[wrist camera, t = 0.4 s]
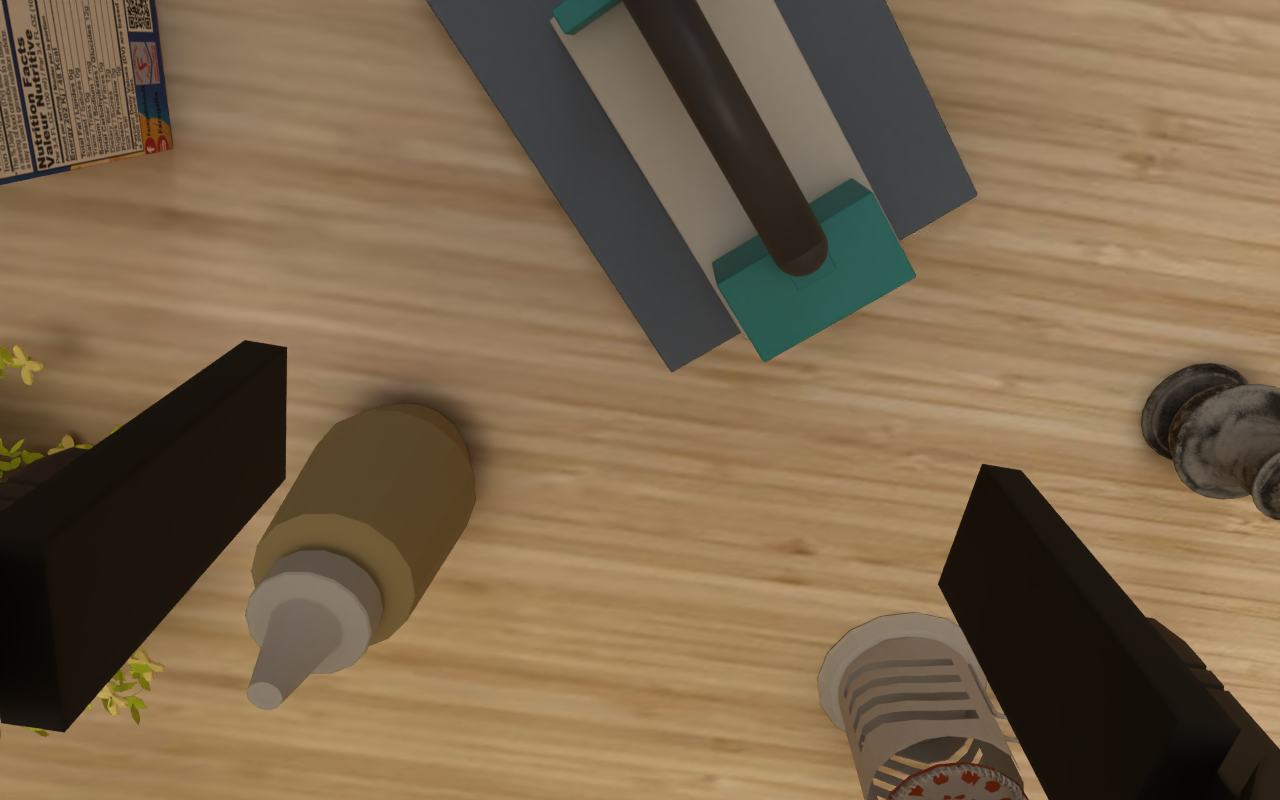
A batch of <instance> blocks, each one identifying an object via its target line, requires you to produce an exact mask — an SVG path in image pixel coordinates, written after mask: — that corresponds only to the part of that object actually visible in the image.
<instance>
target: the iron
mask: <svg viewBox="0 0 1280 800" xmlns="http://www.w3.org/2000/svg"><path fill="white" fill-rule="evenodd" d="M551 13H552V15H553V16H554V17H553V18H552V19H551V20H550V23H551V25H552V26H553V28H554V30H555V31H556V33H557V35H558V36H559V38H560V39H561V41H562V43H563V44H564V46H565V47H566V49H567V51H568V52H569V54H570V56H571V57H572V59H573V60H574V62H575V64H576V65H577V67H578V69H579V70H580V72H581V73H582V75H583V77H584V78H585V80H586V82H587V83H588V85H589V86H590V88H591V90H592V91H593V93H594V95H595V96H596V98H597V99H598V101H599V103H600V104H601V106H602V108H603V109H604V111H605V112H606V114H607V116H608V117H609V119H610V121H611V122H612V124H613V125H614V127H615V129H616V130H617V132H618V134H619V135H620V137H621V138H622V140H623V142H624V143H625V145H626V147H627V148H628V150H629V151H630V153H631V155H632V156H633V158H634V160H635V161H636V163H637V164H638V166H639V168H640V169H641V171H642V173H643V174H644V176H645V177H646V179H647V181H648V182H649V184H650V186H651V187H652V189H653V190H654V192H655V194H656V195H657V197H658V199H659V200H660V202H661V203H662V205H663V207H664V208H665V210H666V212H667V213H668V215H669V216H670V218H671V220H672V221H673V223H674V225H675V226H676V228H677V229H678V231H679V233H680V234H681V236H682V238H683V239H684V241H685V242H686V244H687V246H688V247H689V249H690V251H691V252H692V254H693V255H694V257H695V259H696V260H697V262H698V264H699V265H700V267H701V268H702V270H703V272H704V273H705V275H706V277H707V278H708V280H709V281H710V283H711V285H712V286H713V288H714V290H715V291H716V293H717V294H718V296H719V298H720V299H721V301H722V303H723V304H724V306H725V307H726V309H727V311H728V312H729V314H730V316H731V317H732V319H733V320H734V322H735V324H736V325H737V327H738V329H739V330H740V332H741V333H742V335H743V337H744V338H745V339H748V338H749V339H750V341H751V342H752V344H753V346H754V347H755V349H756V351H757V352H758V354H759V356H760V357H761V359H762V360H763V362H767V361H768V360H770V359H772V358H774V357H775V356H777V355H779V354H781V353H782V352H784V351H786V350H788V349H790V348H791V347H793V346H795V345H797V344H798V343H800V342H802V341H804V340H805V339H807V338H809V337H811V336H813V335H814V334H816V333H818V332H820V331H821V330H823V329H825V328H827V327H828V326H830V325H832V324H834V323H836V322H837V321H839V320H841V319H843V318H844V317H846V316H848V315H850V314H851V313H853V312H855V311H857V310H859V309H860V308H862V307H864V306H866V305H867V304H869V303H871V302H873V301H874V300H876V299H878V298H880V297H882V296H883V295H885V294H887V293H889V292H890V291H892V290H894V289H896V288H897V287H899V286H901V285H903V284H905V283H906V282H908V281H910V280H912V279H913V278H915V277H916V274H915V272H914V270H913V268H912V266H911V264H910V263H909V261H908V259H907V257H906V255H905V253H904V251H903V247H902V245H901V243H900V241H899V240H898V238H897V236H896V234H895V232H894V230H893V228H892V226H891V224H890V222H889V220H888V218H887V217H886V215H885V213H884V211H883V209H882V207H881V205H880V203H879V201H878V199H877V197H876V195H875V193H874V192H873V190H872V188H871V186H870V184H869V182H868V180H867V178H866V176H865V174H864V172H863V170H862V169H861V167H860V165H859V163H858V161H857V159H856V157H855V155H854V153H853V151H852V149H851V147H850V146H849V144H848V142H847V140H846V138H845V136H844V134H843V132H842V130H841V128H840V126H839V124H838V123H837V121H836V119H835V117H834V115H833V113H832V111H831V109H830V107H829V105H828V103H827V101H826V100H825V98H824V96H823V94H822V92H821V90H820V88H819V86H818V84H817V82H816V80H815V78H814V76H813V75H812V73H811V71H810V69H809V67H808V65H807V63H806V61H805V59H804V57H803V55H802V53H801V52H800V50H799V48H798V46H797V44H796V42H795V40H794V38H793V36H792V34H791V32H790V30H789V29H788V27H787V25H786V23H785V21H784V19H783V17H782V15H781V13H780V11H779V9H778V7H777V6H776V4H775V2H774V0H564V1H563V2H561V3H560V4H558V5H557V6H556V7H554V8H553V9H552V10H551Z"/></svg>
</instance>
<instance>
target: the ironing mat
mask: <svg viewBox="0 0 1280 800" xmlns="http://www.w3.org/2000/svg"><path fill="white" fill-rule="evenodd" d="M426 1H427V2H428V4H429V6H430V7H431V9H432V10H433V12H434V13H435V15H436V16H437V18H438V19H439V21H440V22H441V24H442V25H443V27H444V28H445V30H446V31H447V33H448V34H449V36H450V37H451V39H452V40H453V42H454V43H455V45H456V46H457V48H458V49H459V51H460V53H461V54H462V56H463V57H464V59H465V60H466V62H467V63H468V65H469V66H470V68H471V69H472V71H473V72H474V74H475V75H476V77H477V78H478V80H479V81H480V83H481V84H482V86H483V87H484V89H485V90H486V92H487V93H488V95H489V97H490V98H491V100H492V101H493V103H494V104H495V106H496V107H497V109H498V110H499V112H500V113H501V115H502V116H503V118H504V119H505V121H506V122H507V124H508V125H509V127H510V128H511V130H512V131H513V133H514V134H515V136H516V137H517V139H518V140H519V142H520V144H521V145H522V147H523V148H524V150H525V151H526V153H527V154H528V156H529V157H530V159H531V160H532V162H533V163H534V165H535V166H536V168H537V169H538V171H539V172H540V174H541V175H542V177H543V178H544V180H545V181H546V183H547V184H548V186H549V187H550V189H551V191H552V192H553V194H554V195H555V197H556V198H557V200H558V201H559V203H560V204H561V206H562V207H563V209H564V210H565V212H566V213H567V215H568V216H569V218H570V219H571V221H572V222H573V224H574V225H575V227H576V228H577V230H578V231H579V233H580V235H581V236H582V238H583V239H584V241H585V242H586V244H587V245H588V247H589V248H590V250H591V251H592V253H593V254H594V256H595V257H596V259H597V260H598V262H599V263H600V265H601V266H602V268H603V269H604V271H605V272H606V274H607V275H608V277H609V278H610V280H611V282H612V283H613V285H614V286H615V288H616V289H617V291H618V292H619V294H620V295H621V297H622V298H623V300H624V301H625V303H626V304H627V306H628V307H629V309H630V310H631V312H632V313H633V315H634V316H635V318H636V319H637V321H638V322H639V324H640V325H641V327H642V329H643V330H644V332H645V333H646V335H647V336H648V338H649V339H650V341H651V342H652V344H653V345H654V347H655V348H656V350H657V351H658V353H659V354H660V356H661V357H662V359H663V360H664V362H665V363H666V365H667V366H668V368H669V369H670V371H671V372H674V371H675V370H677V369H679V368H680V367H682V366H684V365H686V364H687V363H689V362H691V361H693V360H694V359H696V358H698V357H700V356H701V355H703V354H705V353H706V352H708V351H710V350H712V349H713V348H715V347H717V346H719V345H720V344H722V343H724V342H725V341H727V340H729V339H731V338H732V337H734V336H736V335H738V334H739V333H741V332H740V330H739V329H738V327H737V325H736V324H735V322H734V320H733V319H732V317H731V316H730V314H729V312H728V311H727V309H726V307H725V306H724V304H723V303H722V301H721V299H720V298H719V296H718V294H717V293H716V291H715V290H714V288H713V286H712V285H711V283H710V281H709V280H708V278H707V277H706V275H705V273H704V272H703V270H702V268H701V267H700V265H699V264H698V262H697V260H696V259H695V257H694V255H693V254H692V252H691V251H690V249H689V247H688V246H687V244H686V242H685V241H684V239H683V238H682V236H681V234H680V233H679V231H678V229H677V228H676V226H675V225H674V223H673V221H672V220H671V218H670V216H669V215H668V213H667V212H666V210H665V208H664V207H663V205H662V203H661V202H660V200H659V199H658V197H657V195H656V194H655V192H654V190H653V189H652V187H651V186H650V184H649V182H648V181H647V179H646V177H645V176H644V174H643V173H642V171H641V169H640V168H639V166H638V164H637V163H636V161H635V160H634V158H633V156H632V155H631V153H630V151H629V150H628V148H627V147H626V145H625V143H624V142H623V140H622V138H621V137H620V135H619V134H618V132H617V130H616V129H615V127H614V125H613V124H612V122H611V121H610V119H609V117H608V116H607V114H606V112H605V111H604V109H603V108H602V106H601V104H600V103H599V101H598V99H597V98H596V96H595V95H594V93H593V91H592V90H591V88H590V86H589V85H588V83H587V82H586V80H585V78H584V77H583V75H582V73H581V72H580V70H579V69H578V67H577V65H576V64H575V62H574V60H573V59H572V57H571V56H570V54H569V52H568V51H567V49H566V47H565V46H564V44H563V43H562V41H561V39H560V38H559V36H558V35H557V33H556V31H555V30H554V28H553V26H552V25H551V23H550V20H551V19H552V18H553V17H554V16H553V15H552V13H551V10H552V9H553V8H554V7H556V6H557V5H558V4H560V3H561V2H563V1H564V0H426ZM774 2H775V4H776V6H777V7H778V9H779V11H780V13H781V15H782V17H783V19H784V21H785V23H786V25H787V27H788V29H789V30H790V32H791V34H792V36H793V38H794V40H795V42H796V44H797V46H798V48H799V50H800V52H801V53H802V55H803V57H804V59H805V61H806V63H807V65H808V67H809V69H810V71H811V73H812V75H813V76H814V78H815V80H816V82H817V84H818V86H819V88H820V90H821V92H822V94H823V96H824V98H825V100H826V101H827V103H828V105H829V107H830V109H831V111H832V113H833V115H834V117H835V119H836V121H837V123H838V124H839V126H840V128H841V130H842V132H843V134H844V136H845V138H846V140H847V142H848V144H849V146H850V147H851V149H852V151H853V153H854V155H855V157H856V159H857V161H858V163H859V165H860V167H861V169H862V170H863V172H864V174H865V176H866V178H867V180H868V182H869V184H870V186H871V188H872V190H873V192H874V193H875V195H876V197H877V199H878V201H879V203H880V205H881V207H882V209H883V211H884V213H885V215H886V217H887V218H888V220H889V222H890V224H891V226H892V228H893V230H894V232H895V234H896V236H897V238H898V240H899V241H900V240H902V239H903V238H905V237H907V236H909V235H910V234H912V233H914V232H916V231H917V230H919V229H921V228H922V227H924V226H926V225H928V224H929V223H931V222H933V221H935V220H936V219H938V218H940V217H941V216H943V215H945V214H947V213H948V212H950V211H952V210H954V209H955V208H957V207H959V206H961V205H962V204H964V203H966V202H967V201H969V200H971V199H973V198H974V197H976V196H977V192H976V190H975V188H974V186H973V184H972V182H971V179H970V177H969V175H968V173H967V171H966V169H965V167H964V165H963V163H962V161H961V158H960V156H959V154H958V152H957V150H956V148H955V146H954V144H953V142H952V140H951V138H950V135H949V133H948V131H947V129H946V127H945V125H944V123H943V121H942V119H941V117H940V114H939V112H938V110H937V108H936V106H935V104H934V102H933V100H932V98H931V96H930V94H929V91H928V89H927V87H926V85H925V83H924V81H923V79H922V77H921V75H920V73H919V70H918V68H917V66H916V64H915V62H914V60H913V58H912V56H911V54H910V52H909V50H908V47H907V45H906V43H905V41H904V39H903V37H902V35H901V33H900V31H899V29H898V26H897V24H896V22H895V20H894V18H893V16H892V14H891V12H890V10H889V8H888V6H887V3H886V1H885V0H774Z"/></svg>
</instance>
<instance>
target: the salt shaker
mask: <svg viewBox="0 0 1280 800" xmlns="http://www.w3.org/2000/svg"><path fill="white" fill-rule="evenodd" d="M1141 425H1142V431H1143V436H1144V438H1145V439H1146V441H1147V443H1148V445H1149V446H1150V447H1151V448H1152V449H1154V450H1155V451H1156V452H1157V453H1158V454H1159V455H1162V456H1164V457H1166V458H1169V459H1171V460H1173V461H1174V465H1175V470H1176V472H1177V473H1178V475H1179V477H1180V479H1181V481H1182V482H1183V483H1184V484H1186V485H1187V486H1188V487H1189V488H1190V489H1191V490H1192V491H1194V492H1196V493H1198V494H1201V495H1203V496H1205V497H1209V498H1216V499H1234V498H1241V497H1244V496H1248V495H1252V497H1253V501H1254V503H1255V505H1256V507H1257V509H1258V510H1260V511H1261V512H1262V513H1263V514H1264V515H1265V516H1268V517H1270V518H1272V519H1275V520H1280V389H1279V388H1277V387H1275V386H1269V385H1262V384H1248V382H1247V380H1246V379H1245V378H1244V377H1243V376H1242V375H1240V374H1239V373H1238V372H1237V371H1235V370H1233V369H1231V368H1229V367H1226V366H1224V365H1218V364H1211V363H1210V364H1200V365H1194V366H1191V367H1188V368H1185V369H1182V370H1180V371H1178V372H1176V373H1175V374H1173V375H1171V376H1169V377H1168V378H1167V379H1166V380H1164V381H1163V382H1162V383H1161V384H1160V385H1159V386H1158V387H1157V388H1156V389H1155V390H1154V392H1153V393H1152V394H1151V396H1150V397H1149V398H1148V400H1147V403H1146V405H1145V408H1144V410H1143V414H1142V422H1141Z"/></svg>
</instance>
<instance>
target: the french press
mask: <svg viewBox="0 0 1280 800" xmlns="http://www.w3.org/2000/svg"><path fill="white" fill-rule="evenodd" d="M818 688H819V697H820V704H821V706H822V707H823V709H824V710H825V712H826V713H827V715H828V716H829V718H830V719H831V721H832V722H833V724H834V725H835V726H836V727H838V728H840V729H841V730H843V731H845V732H846V733H847V737H848V740H849V744H850V748H851V751H852V755H853V759H854V763H855V766H856V770H857V774H858V777H859V781H860V785H861V788H862V792H863V796H864V799H865V800H878V798H877V795H878V796H880V797H883V798H885V799H887V800H1028V798H1027V796H1026V795H1025V793H1024V786H1023V781H1022V779H1021V777H1020V775H1019V772H1018V770H1017V768H1016V766H1015V764H1014V762H1013V760H1012V758H1013V759H1014V757H1013V755H1012V753H1011V751H1010V749H1009V747H1008V745H1007V743H1006V741H1009V742H1015V743H1019V741H1018V739H1017V738H1011V737H1007V736H1005V735H1003V734H1002V732H1001V730H1000V728H999V726H998V724H997V722H996V720H995V718H994V716H995V717H996V718H1002V719H1007V718H1006V716H1005V714H1001V713H999V712H997V711H996V710H995V708H994V706H993V705H992V703H991V701H990V699H989V697H988V695H987V693H986V691H985V688H986V677H985V675H984V673H983V671H982V669H981V667H980V665H979V663H978V661H977V659H976V657H975V655H974V653H973V651H972V649H971V647H970V645H969V644H968V642H967V640H966V638H965V636H964V634H963V632H962V630H961V628H960V627H959V626H957V625H956V624H954V623H953V622H951V621H950V620H948V619H944V618H939V617H934V616H930V615H925V614H920V613H916V612H915V613H907V614H898V615H890V616H881V617H879V618H877V619H874V620H872V621H870V622H868V623H866V624H864V625H861V626H859V627H857V628H855V629H853V630H851V631H849V632H848V633H847V634H846V635H845V636H844V637H843V638H842V639H841V640H840V641H839V642H838V643H837V644H836V645H835V646H834V647H833V648H832V649H831V650H830V651H829V652H828V653H827V656H826V658H825V661H824V663H823V666H822V668H821V671H820V673H819V676H818ZM993 715H994V716H993ZM968 738H974V740H973V742H972V744H971V746H970V748H969V750H968V752H967V753H966V754H965V755H964V756H963V757H962V758H961V759H960V760H959V761H958V762H957V763H948V764H938V765H935V766H932V767H930V768H927V769H925V770H922V769H917V768H913V767H910V766H907V765H904V764H901V763H898V762H895V761H892V760H890V758H891V757H892V756H893V755H896V756H899V757H903V758H907V759H911V760H915V761H919V762H922V763H926V764H930V763H935V762H940V761H945V760H949V759H950V758H951V757H952V756H953V755H954V754H955V753H956V752H957V751H958V750H959V749H960V748H962V747H963V746H964V745H965V743H966V741H967V739H968ZM861 742H863V743H864V744H863V746H862V743H861ZM979 748H980V749H981V751H982V753H983V755H982V757H981V760H980V762H979V764H974V763H971V762H972V761H973V759H974V757H975V755H976V753H977V751H978V749H979ZM1011 757H1012V758H1011ZM1014 761H1015V759H1014ZM1015 763H1016V761H1015ZM1016 764H1017V763H1016ZM882 765H883V766H885V767H888V768H891V769H893V770H896V771H899V772H902V773H904V774H908V775H910V776H909V777H907V778H906V779H905V780H902V779H899V778H897V777H894V776H891V775H889V774H886V773H883V772H881V771H878V770H877V769H878V768H880V767H881V766H882ZM1017 766H1018V765H1017ZM1018 768H1019V767H1018ZM1019 770H1020V769H1019ZM873 778H877V779H879V780H881V781H884V782H886V783H889V784H892V785H894V786H897V787H896V788H895V789H894V790H893V791H892V792H891V791H888V790H886V789H883V788H881V787H878V786H876V785H874V784H873V781H872V780H873Z"/></svg>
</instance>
